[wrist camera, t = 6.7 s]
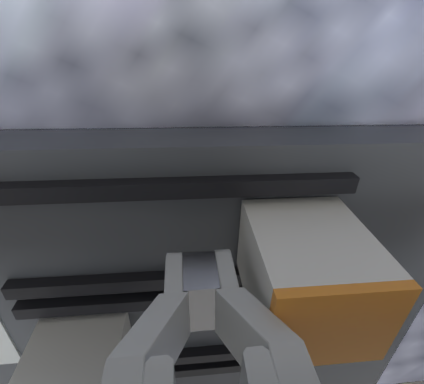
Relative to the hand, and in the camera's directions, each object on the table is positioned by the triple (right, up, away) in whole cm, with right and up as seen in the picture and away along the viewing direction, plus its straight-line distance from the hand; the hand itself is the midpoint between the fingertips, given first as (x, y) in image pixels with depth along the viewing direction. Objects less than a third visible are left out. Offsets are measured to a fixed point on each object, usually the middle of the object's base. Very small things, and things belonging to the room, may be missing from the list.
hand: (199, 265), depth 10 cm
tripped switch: (+3, +1, +2) cm, 4 cm away
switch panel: (0, -3, +6) cm, 7 cm away
